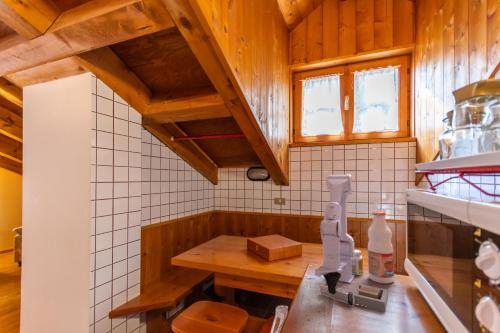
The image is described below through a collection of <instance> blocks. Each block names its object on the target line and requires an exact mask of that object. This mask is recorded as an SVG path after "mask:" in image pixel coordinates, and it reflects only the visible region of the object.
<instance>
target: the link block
mask: <svg viewBox="0 0 500 333" xmlns="http://www.w3.org/2000/svg"><path fill="white" fill-rule="evenodd" d="M363 285H364V284H362V286H361V288H360V289H359V288H358V290H357V291H358V295H362V296H366V297H371V298H375V299H379V300H381V290H379V289H375V288H371V287H367V286H368V285H367V286H363Z"/></svg>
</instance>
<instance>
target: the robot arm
mask: <svg viewBox="0 0 500 333" xmlns="http://www.w3.org/2000/svg"><path fill="white" fill-rule="evenodd" d="M325 181H326V182H325V183H326V187H327V190H328V192H329V193H330V194H329V203H327V204H326V206H325V210H324V216H323V220H321V221H320V225H319V226H320V227H319V229H320V230H319V231H320V236H321V241H322V265H321V266H319V267H318V268H315V269H314V276H316V277H318V278H320V277H322V276H323V279H324V280H325V283H326V286H328V292H329V293H331V294H335V292H336V289H337V285H338V283H339V282H344V283H349V284H350V283H351V282H352V281H353V279H354V278H355V276H356V275H355V274H352V259H351V258H353V257H354V253H355V250H356V249H355V240H354V238H353V237H352V236H351V235H350V234H348V220H347V218H348V216H347V215H348V214H347V213H348V212H347V211H348V210H347V209H348V204H347V202H348V201H347V199H348V196H349V195H352V192H353V176H352V175H351V174H350V173H349V174H328V175H327V176H326V180H325Z"/></svg>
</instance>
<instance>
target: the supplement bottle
mask: <svg viewBox="0 0 500 333" xmlns="http://www.w3.org/2000/svg"><path fill="white" fill-rule="evenodd" d="M361 253H362V251H361V250H359V249H355V253H354V257H353V258H351V259H352V274H355V276H362V275H364V261H363V260H364V259H363V256H362V255H361Z"/></svg>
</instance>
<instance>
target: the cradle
mask: <svg viewBox="0 0 500 333" xmlns="http://www.w3.org/2000/svg"><path fill="white" fill-rule="evenodd" d="M362 285H363V286H367V287H371V288H375V289H379V290H381V300H379V299H375V298H371V297H366V296H362V295H359V294H357V293H353V305H355V304H359V305H363V306H367V307H369V308H368V309H371V308H372V309H371V310H375V311H379V312H383V313H386V311H387V310H386V308H387V304H388V299H389V298H388V296H389V295H388V289H385V288H379V287H378V286H377V287H376V286H373V285H372V286H371V285H367V284H361V283H359V285H358V290H359V289H360V288H361V286H362ZM359 305H358V306H359ZM363 306H362V307H363ZM367 307H366V308H367Z"/></svg>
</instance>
